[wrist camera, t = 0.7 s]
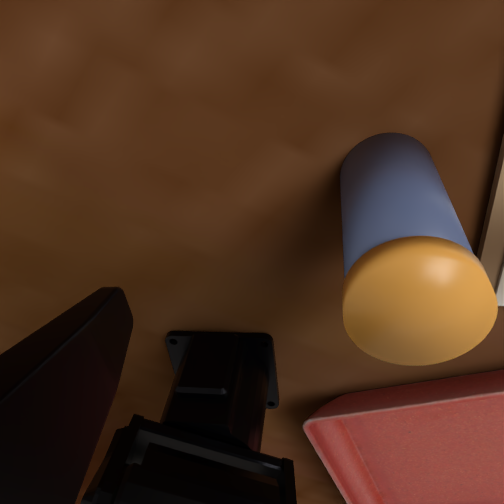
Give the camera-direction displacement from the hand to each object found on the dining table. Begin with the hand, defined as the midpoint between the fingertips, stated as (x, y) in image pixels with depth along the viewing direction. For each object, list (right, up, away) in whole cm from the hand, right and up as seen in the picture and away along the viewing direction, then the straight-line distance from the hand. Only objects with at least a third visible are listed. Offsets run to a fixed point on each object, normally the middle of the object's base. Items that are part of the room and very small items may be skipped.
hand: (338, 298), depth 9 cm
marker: (+4, +4, +11) cm, 13 cm away
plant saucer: (+13, -12, +22) cm, 28 cm away
